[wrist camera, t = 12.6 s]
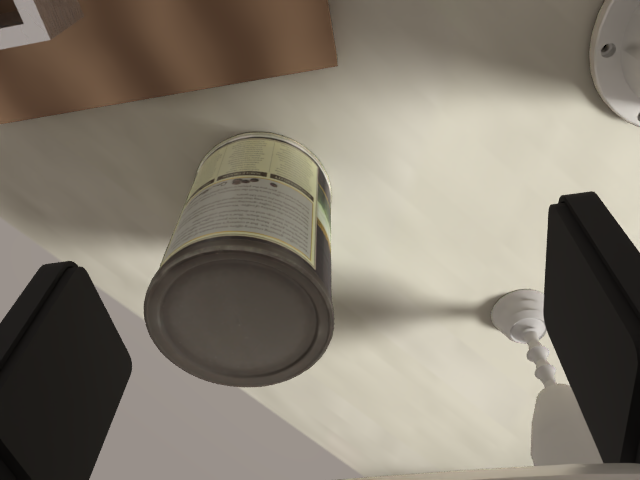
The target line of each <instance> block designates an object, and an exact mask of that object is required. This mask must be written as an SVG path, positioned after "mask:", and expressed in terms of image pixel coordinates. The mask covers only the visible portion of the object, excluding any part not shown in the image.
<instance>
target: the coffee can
mask: <svg viewBox="0 0 640 480" xmlns="http://www.w3.org/2000/svg"><path fill="white" fill-rule="evenodd" d="M331 198H332V195H331V186H330V182H329V178H328V176H327V173H326V171H325V169H324V168H323V166H322V164H321V163H320V161H319V160H318V159H317V158H316V156H315V155H314V154H313V153H311V152H310V151H309V150H308V149H307V148H305V147H304V146H302V145H301V144H299V143H298V142H296V141H294V140H292V139H290V138H287V137H284V136H281V135H277V134H273V133H267V132H259V133H257V132H252V133H245V134H240V135H237V136H234V137H231V138H229V139H227V140H225V141H223V142H222V143H220V144H218V145H216V146H215V147H214V148H213V149H212V150H211V151H210V152H209V153H208V154H207V155H206V156H205V158H204V159H203V160H202V162H201V164H200V165H199V168H198V170H197V173H196V176H195V180H194V183H193V185H192V188H191V190H190V192H189V195H188V197H187V200H186V203H185V205H184V207H183V210H182V212H181V215H180V217H179V221H178V223H177V225H176V228H175V230H174V232H173V234H172V237H171V240H170V242H169V245H168V247H167V249H166V252H165V254H164V257H163V260H162V262H161V265H160V268H159V270H158V271H157V273H156V274H155V276H154V277H153V279H152V281H151V283H150V285H149V287H148V290H147V293H146V296H145V301H144V319H145V322H146V327H147V329H148V332H149V335H150V337H151V339H152V340H153V342H154V344H155V345H156V346H157V348H158V349H159V350H160V352H161V353H162V354H163V355H164V356H165V357H166V358H168V359H169V360H170V361H171V362H172V363H174V364H175V365H176V366H178V367H179V368H181V369H182V370H184V371H186V372H188V373H189V374H191V375H193V376H195V377H198V378H200V379H203V380H206V381H208V382H212V383H216V384H221V385H227V386H234V387H262V386H268V385H273V384H277V383H281V382H284V381H287V380H289V379H292V378H294V377H296V376H298V375H300V374H301V373H303V372H304V371H306V370H308V369H309V368H310V367H312V366H313V365H314V364H315V363H316V362H317V361H318V360H319V359H320V358H321V357H322V355H323V354H324V353H325V351H326V349H327V347H328V345H329V343H330V341H331V338H332V335H333V329H334V311H333V304H332V294H331Z"/></svg>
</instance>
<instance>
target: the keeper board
mask: <svg viewBox="0 0 640 480" xmlns="http://www.w3.org/2000/svg"><path fill="white" fill-rule="evenodd" d="M78 2H79V5H80V7H81V10H82V12H83V15H84V17H83V18H81V19H80V20H78V21H77V22H75V23H74V24H73V25H71V26H70V27H68V28H67V29H65V30H64V31H63V32H61V33H60V34H58V35H57V36H56V37H54V38H53V39H51V40H48V41H43V42H37V43H32V44H27V45H22V46H17V47H11V48H6V49H1V50H0V124H4V123H10V122H16V121H22V120H28V119H33V118H39V117H45V116H51V115H56V114H62V113H68V112H74V111H80V110H85V109H91V108H97V107H103V106H109V105H114V104H120V103H126V102H132V101H138V100H143V99H149V98H155V97H161V96H167V95H172V94H178V93H184V92H190V91H195V90H201V89H207V88H213V87H219V86H224V85H230V84H236V83H242V82H248V81H253V80H259V79H265V78H271V77H277V76H282V75H288V74H294V73H300V72H306V71H311V70H317V69H323V68H329V67H335V66H337V54H336V48H335V42H334V36H333V29H332V23H331V17H330V11H329V4H328V0H78ZM13 11H18V10H17V7H16V5H15V3H14V1H13V0H0V14H3V13H8V12H13Z"/></svg>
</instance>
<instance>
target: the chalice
mask: <svg viewBox="0 0 640 480" xmlns="http://www.w3.org/2000/svg"><path fill="white" fill-rule="evenodd" d="M543 306H544V294H543V293H541V292H538V291H536V290H529V289H524V290H516V291H514V292H511V293H508V294H506V295H505V296H503V297H502V298H500V299H499V300H498V301H497V303H496V304H495V305H494V306H493V309H492V312H491V320H492V322H493V324H494V326H495V327H496V328H497V329H499V330H500V331H501V332H502V333H503V334H504V335H506V337H508V338H509V339H510V340H512V341H514V342H517V343H524V344H528V345H529V351H528V352H527V359H528V360H529V361H532V362H534V363H535V364H536V371H535V376H536V377H537V378H538V379H540V380H541V381H542V383H543V384H544V386H545V388H544V389H543V390H542V391H541V392H540V393H539V394H538V396H537V399H536V404H535V409H534V414H533V420H532V429H531V457H532V460H533V463H534V466H546V465H563V464H596V463H603V461H602V459H601V456H600V454H599V452H598V449H597V447H596V445H595V442H594V440H593V438H592V435H591V433H590V431H589V428H588V426H587V424H586V421H585V419H584V417H583V414H582V412H581V409H580V407H579V405H578V402H577V400H576V398H575V395H574V393H573V391H572V388H571V386H569V385H566V384H557V383H556V380H555V373H556V368H555V367H554V366H553V365H550V364H549V363H548V361H547V357H548V355H549V349H548V348H547V347H545V346H542V345H541V344H540V342H539V339H541V338H542V337H543V336H544V335H545V334H546V332H547V329H546V326H545V322H544V316H543Z"/></svg>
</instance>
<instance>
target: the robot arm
mask: <svg viewBox="0 0 640 480" xmlns="http://www.w3.org/2000/svg"><path fill="white" fill-rule="evenodd" d="M605 45H606V48H605V49H603V50H602V48H603V47H604V46H605ZM589 59H590V72H591V75H592V79H593V82H594V85H595V88H596V90H597V91H598V93H599V95H600V96H601V98H602V100H603V101H604V102H605V103H606V104H607V105H608V106H609V107H610V108H611V109H612V111H614V112H615V113H616V114H617V115H619V116H620V117H621V118H623V119H624V120H625V121H627V122H629V123H631V124H633V125H635V126H638V127H640V0H605V1H604V3H603V5H602V7H601V9H600V11H599V13H598V16H597V19H596V22H595V25H594V28H593V31H592V36H591V43H590V50H589ZM543 316H544V322H545V326H546V329H547V332H548V334H549V337H550V339H551V341H552V344H553V346H554V348H555V351H556V353H557V355H558V358H559V360H560V363H561V365H562V367H563V370H564V372H565V374H566V377H567V379H568V381H569V384H570V386H571V388H572V391H573V393H574V395H575V398H576V400H577V402H578V405H579V407H580V409H581V412H582V414H583V417H584V419H585V421H586V424H587V426H588V428H589V431H590V433H591V435H592V438H593V440H594V442H595V445H596V447H597V449H598V452H599V454H600V456H601V459H602V461H603V463H596V464H563V465H546V466H528V467H511V468H493V469H476V470H462V471H448V472H435V473H421V474H407V475H393V476H380V477H366V478H353V479H338V480H640V253H639V251H638V250H637V248H636V247H635V246H634V244H633V243H632V242H631V240H630V239H629V238H628V236H627V235H626V234H625V232H624V231H623V229H622V228H621V227H620V225H619V224H618V223H617V221H616V220H615V219H614V217H613V216H612V214H611V213H610V212H609V210H608V209H607V208H606V206H605V205H604V204H603V202H602V201H601V200H600V198H599V197H598V195H597V194H596V193H595V192H584V193H577V194H569V195H562V196H561V197H560V199H559V202H558V204H552V205H550V207H549V213H548V231H547V250H546V269H545V287H544V306H543ZM131 371H132V362H131V358H130V355H129V353H128V351H127V349H126V347H125V345H124V343H123V342H122V339H121V337H120V335H119V333H118V331H117V330H116V328H115V326H114V324H113V322H112V320H111V318H110V316H109V314H108V312H107V310H106V308H105V306H104V304H103V302H102V300H101V298H100V296H99V294H98V292H97V290H96V289H95V287H94V284H93V283H92V281H91V279H90V277H89V275H88V273H87V271H86V270H85V269H84V268H83V267H78V265H77V264H76V263H74V262H72V261H66V262H58V263H51V264H45V265H43V266H41V267H40V268H39V270H38V271H37V272H36V274H35V275H34V277H33V278H32V280H31V281H30V282H29V284H28V285H27V286H26V288H25V289H24V291H23V292H22V294H21V295H20V296H19V298H18V299H17V301H16V302H15V304H14V305H13V306H12V308H11V309H10V310H9V312H8V313H7V315H6V316H5V318H4V319H3V320H2V322H1V323H0V480H89V478H90V476H91V473H92V471H93V468H94V466H95V463H96V461H97V458H98V455H99V453H100V451H101V448H102V446H103V443H104V440H105V438H106V435H107V433H108V430H109V428H110V425H111V422H112V420H113V418H114V415H115V413H116V410H117V407H118V405H119V403H120V400H121V397H122V395H123V392H124V390H125V387H126V385H127V382H128V380H129V377H130V375H131Z"/></svg>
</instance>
